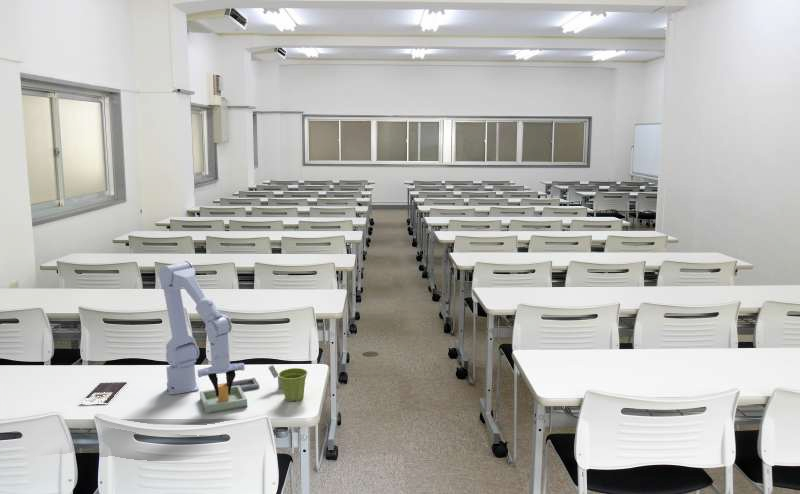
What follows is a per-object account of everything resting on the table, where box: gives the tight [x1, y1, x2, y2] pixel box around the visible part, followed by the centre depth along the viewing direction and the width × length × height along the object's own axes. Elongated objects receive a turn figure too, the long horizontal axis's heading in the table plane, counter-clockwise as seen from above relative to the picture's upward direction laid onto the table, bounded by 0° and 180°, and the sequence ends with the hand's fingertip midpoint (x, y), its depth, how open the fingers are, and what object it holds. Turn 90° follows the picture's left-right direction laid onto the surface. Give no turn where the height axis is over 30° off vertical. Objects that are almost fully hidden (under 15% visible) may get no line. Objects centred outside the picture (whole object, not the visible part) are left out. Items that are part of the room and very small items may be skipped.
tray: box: [199, 385, 248, 415], centre depth 224 cm, size 13×13×3 cm
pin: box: [218, 382, 229, 403], centre depth 223 cm, size 3×3×6 cm
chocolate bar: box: [85, 381, 127, 404], centre depth 233 cm, size 9×1×18 cm
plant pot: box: [278, 367, 308, 402], centre depth 226 cm, size 9×9×9 cm
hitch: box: [232, 377, 260, 392], centre depth 237 cm, size 9×7×1 cm
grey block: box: [268, 364, 283, 389], centre depth 236 cm, size 7×2×8 cm, turn 93°
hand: (222, 394), depth 223 cm, fingers closed on pin, 3 cm apart
